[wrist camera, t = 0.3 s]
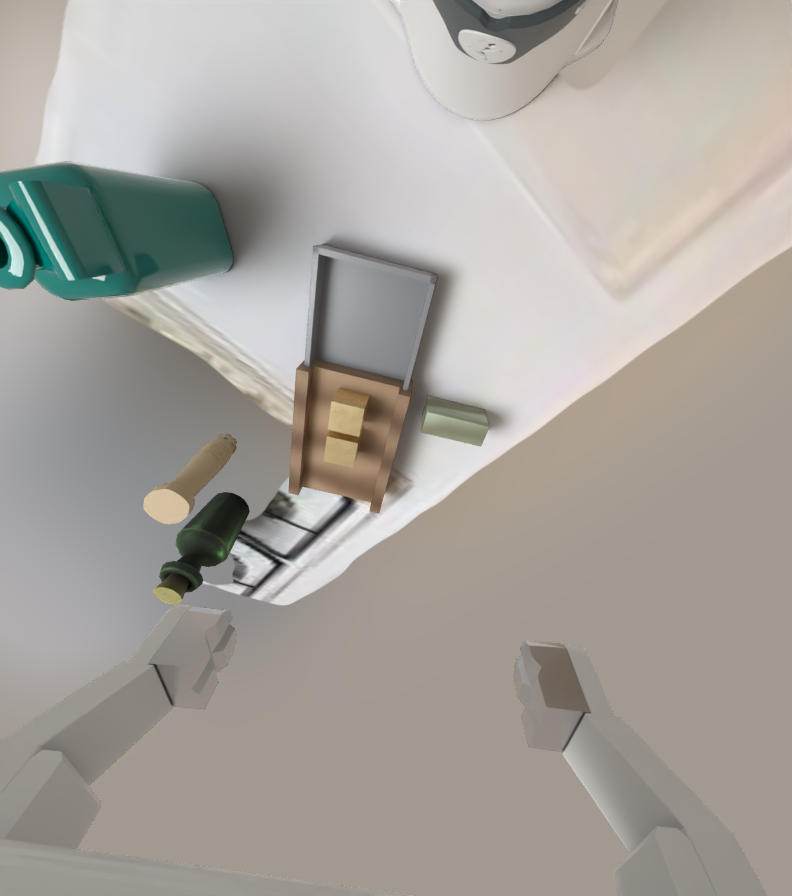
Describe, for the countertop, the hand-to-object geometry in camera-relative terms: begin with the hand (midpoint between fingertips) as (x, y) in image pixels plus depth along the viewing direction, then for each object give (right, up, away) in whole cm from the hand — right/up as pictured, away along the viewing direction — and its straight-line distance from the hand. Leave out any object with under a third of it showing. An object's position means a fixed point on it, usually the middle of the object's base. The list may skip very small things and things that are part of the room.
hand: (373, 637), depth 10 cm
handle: (-26, +6, +45) cm, 52 cm away
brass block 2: (-6, +7, +38) cm, 39 cm away
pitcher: (-21, +29, +29) cm, 47 cm away
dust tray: (-3, +21, +32) cm, 39 cm away
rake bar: (+9, +10, +38) cm, 41 cm away
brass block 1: (-5, +11, +36) cm, 38 cm away
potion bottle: (-29, -5, +52) cm, 60 cm away
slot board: (-6, +8, +41) cm, 43 cm away
